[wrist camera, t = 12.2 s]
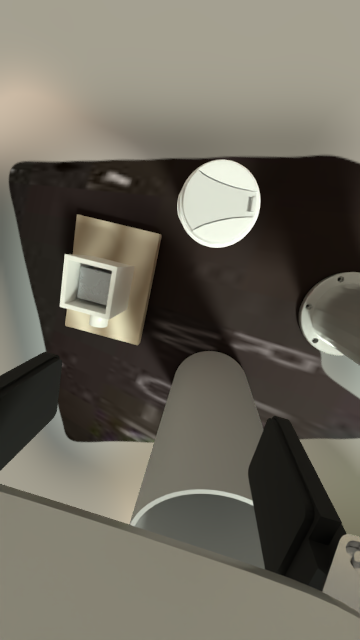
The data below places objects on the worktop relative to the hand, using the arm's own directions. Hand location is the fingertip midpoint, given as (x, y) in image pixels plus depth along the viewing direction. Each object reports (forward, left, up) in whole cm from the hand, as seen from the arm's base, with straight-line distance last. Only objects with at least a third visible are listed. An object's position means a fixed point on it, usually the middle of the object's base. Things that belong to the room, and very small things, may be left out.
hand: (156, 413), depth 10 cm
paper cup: (0, -12, -28) cm, 31 cm away
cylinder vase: (-6, +13, -28) cm, 32 cm away
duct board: (+14, 0, -28) cm, 32 cm away
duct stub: (+14, 0, -27) cm, 30 cm away
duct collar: (+14, +1, -27) cm, 30 cm away
